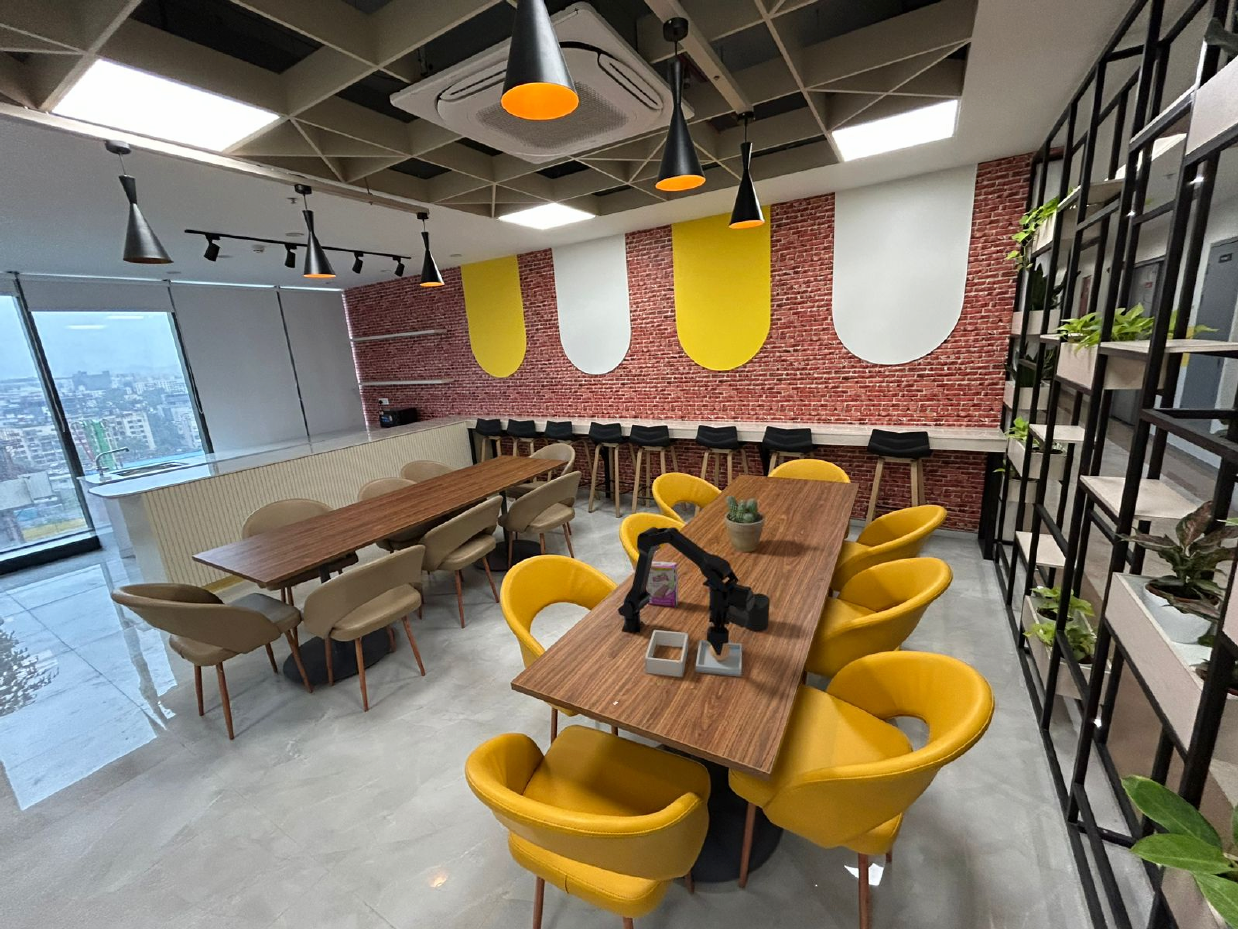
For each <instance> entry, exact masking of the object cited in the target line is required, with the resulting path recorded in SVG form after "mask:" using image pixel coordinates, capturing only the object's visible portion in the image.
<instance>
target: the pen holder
mask: <svg viewBox="0 0 1238 929" xmlns="http://www.w3.org/2000/svg"><path fill="white" fill-rule="evenodd" d="M754 595H755V601H754V605H753V607H752V609H751V610H750V611H747V612H748V620H747V622H746V625H745V627H744V628H745V629H747V630H748V631H751V632H762V631H765V630H766V629H768V627H769V621H770V620H769V618H770V617H769V616H770V601H771V600H770V598H769V597H768V596H767V595H766V594H764V593H754Z"/></svg>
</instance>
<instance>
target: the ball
mask: <svg viewBox="0 0 1238 929" xmlns="http://www.w3.org/2000/svg"><path fill="white" fill-rule="evenodd" d="M710 654H711V656H712V657H713V658H714V659H716V660H724V659H726V658H727V656H728V655H729V647H728V645H727V644H726V643H724V644H723V647H722V651H721V655H717V654H716V653H715V651H714V649H713V647H712V645H710Z"/></svg>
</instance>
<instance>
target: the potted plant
mask: <svg viewBox="0 0 1238 929" xmlns="http://www.w3.org/2000/svg"><path fill="white" fill-rule="evenodd" d="M725 501H726V504H727V506H728V512H727V513H726V514H725V515H724V522H725V527H726V528H727V529H726V530H727V533H728V537H729V538H728V539H729V540H730V544H731V547H732V548H733V550H735V551H737V552H739V553H752V552H755V551H756V550H758V547H759V543H760V541H761V537H762V533H763V529H764V527H765V522H766V516H765V515H764V514H762V513H759V512H758V510H759V508H758V507H759V506H758V505H759V504H758V503H759V502H758V501H757V499H755V498H749V499H748V500H747V501H746V500H744V499H741V500H740V501H739V502H737V500H736V498H735V497H734V495H729V496H727V497H726V498H725Z"/></svg>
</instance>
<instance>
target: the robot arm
mask: <svg viewBox="0 0 1238 929" xmlns="http://www.w3.org/2000/svg"><path fill="white" fill-rule="evenodd" d="M664 544H669V545H670V546H671V547H673V548H674V549H676V550H677V551H678V552H679V553H680V554H682V555H683V556H685V557H686V558H687V559H688V560H690V561H691V562H693V564H695V565H696V566H697V567H698V568H699V570H700V572H701V574H702V575H703V576H704V577H705V579H706V580H705V581H704V582H702V586H705V587H708V588H709V591H708V592H709V594H708V595H709V599H708V600H709V605H708V610H709V618H708V622H709V623H712V625H713V626H709V627H708V628H707V632H706V641H708V642H710V644H711V645H712V647H713V649H714V651H715V653H716V654H717V655H721V651H722V647H723V644H724V643H726V644H727V643H730V630H729V629H728V628H727V627H726V625H728V626H729V625H731V624H733V625H735V626H738V627H739V628H741V629H743V628H745V625H746V622H747V620H748V612H747V611H750V610H751V609H752V607H753V605H754V601H755V595H754V594H755V593H754V592H753V591H752V587H751V586H745V585H743V584H738V582H739V581H740V580H739V579H738V577H737V574H736V573H735V572H734V570H733V569H732V567H731V566H732V565H731V563H729V561H728V560H726V559H725V558H722V557H721V556H719V555H717V554H713V553H709V552H707V551H706V550H704V549H703V548H702V547H701V546H699V545H698V544H696V543H695V542H693V541H692V540H691V539H690V538H688V537H687V536H686V535H684V534H683V533H682V532H680V531H679V529H678V528H677V527H674V526H673V527H672V526H671V527H660V528H658V527H656V526H652V527H649V528H648V529H646V530H643V531H642V532H640V533H639V534H638V535H637V537H636V548H637V551H638V558H637V563H636V566H635V572H634V576H633V580H632V585H631V588H630V589H629V591H628V592H627V594H626V596H625V598H624V600H623V604H622V605H621V606H620V607H618V608H617V611H618V614H619V616H622V617H623V620H624V623H623V626H622V628H621V631H622V632H627V633H628V632H630V633H641V630H642V628H643V624H644V621H643V620H642V621H641V610H643V609H644V608H645V607H646V606H647V605H649V604H648V603H649V598H650V596H651V594H650V593H648V589H647V582H648V577H649V573H650V569H651V564H652V561H654V555H655V554H656V553H657V551H658V550H659V548H660V546H661V545H664ZM727 578H728V579H727ZM726 579H727V580H726ZM725 580H726V581H725ZM724 581H725V582H724ZM730 623H731V624H730Z"/></svg>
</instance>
